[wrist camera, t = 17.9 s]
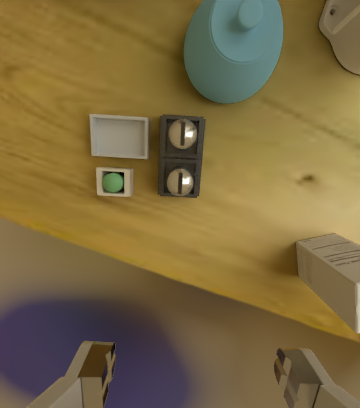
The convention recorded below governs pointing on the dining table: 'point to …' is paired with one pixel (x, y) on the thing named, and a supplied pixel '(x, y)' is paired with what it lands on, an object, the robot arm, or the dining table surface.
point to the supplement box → (333, 274)
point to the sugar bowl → (233, 47)
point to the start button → (113, 182)
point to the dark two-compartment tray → (180, 155)
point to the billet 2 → (180, 181)
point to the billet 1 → (182, 134)
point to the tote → (120, 136)
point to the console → (127, 181)
